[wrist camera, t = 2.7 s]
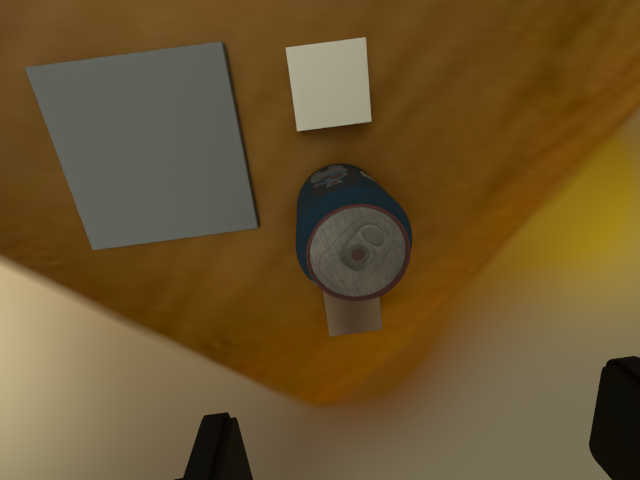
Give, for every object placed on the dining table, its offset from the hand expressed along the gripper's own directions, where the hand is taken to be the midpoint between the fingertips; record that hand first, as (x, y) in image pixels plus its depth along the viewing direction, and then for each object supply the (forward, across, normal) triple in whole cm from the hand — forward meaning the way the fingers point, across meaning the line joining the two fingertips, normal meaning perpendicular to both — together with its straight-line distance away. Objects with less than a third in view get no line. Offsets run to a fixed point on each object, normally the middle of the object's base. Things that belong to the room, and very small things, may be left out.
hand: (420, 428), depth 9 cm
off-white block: (+23, 0, -9) cm, 25 cm away
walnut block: (+23, 0, +8) cm, 24 cm away
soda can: (+23, 0, 0) cm, 23 cm away
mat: (+23, +14, -6) cm, 28 cm away
